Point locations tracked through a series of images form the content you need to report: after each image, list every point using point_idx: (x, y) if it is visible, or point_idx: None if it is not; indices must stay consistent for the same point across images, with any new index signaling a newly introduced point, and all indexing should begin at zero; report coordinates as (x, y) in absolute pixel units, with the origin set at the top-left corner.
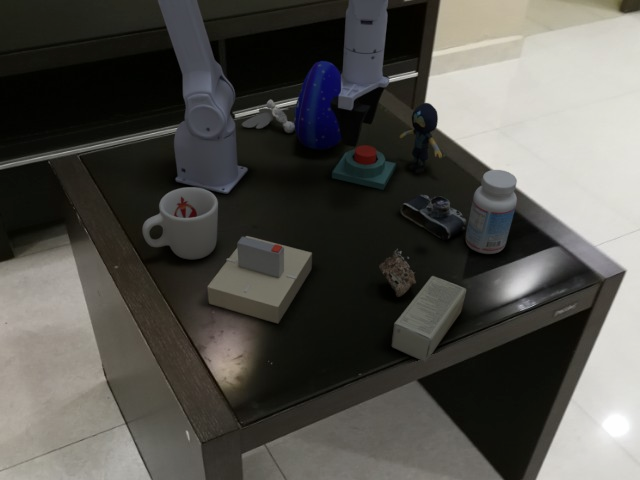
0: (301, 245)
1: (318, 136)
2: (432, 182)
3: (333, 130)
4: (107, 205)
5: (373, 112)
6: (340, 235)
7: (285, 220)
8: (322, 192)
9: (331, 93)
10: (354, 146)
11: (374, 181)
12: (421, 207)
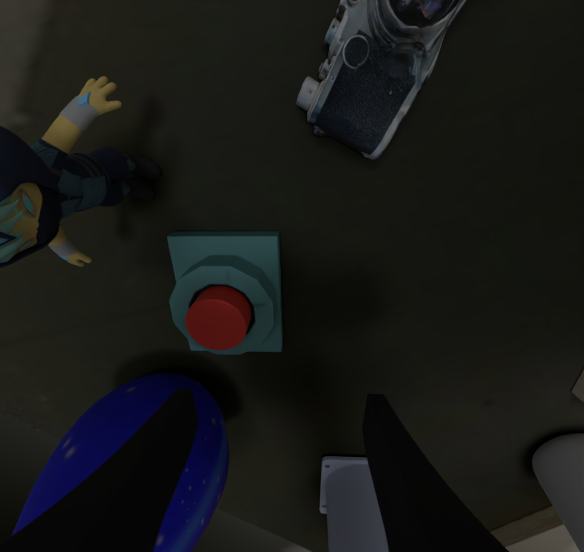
0: (540, 322)
1: (219, 429)
2: (175, 110)
3: None
4: None
5: (165, 431)
6: (494, 265)
7: (457, 369)
8: (340, 342)
9: None
10: (385, 397)
11: (277, 261)
12: (397, 80)
